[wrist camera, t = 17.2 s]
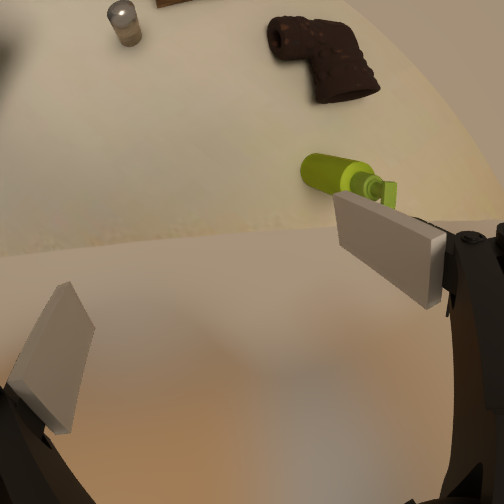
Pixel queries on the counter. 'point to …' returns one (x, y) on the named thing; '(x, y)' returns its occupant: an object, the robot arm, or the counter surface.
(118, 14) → the cylinder
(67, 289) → the robot arm
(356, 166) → the soap dispenser
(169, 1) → the socket block
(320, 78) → the pipe
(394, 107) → the counter surface
